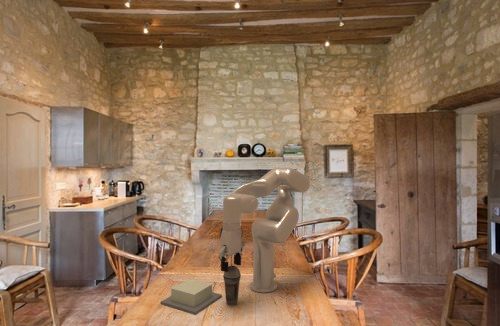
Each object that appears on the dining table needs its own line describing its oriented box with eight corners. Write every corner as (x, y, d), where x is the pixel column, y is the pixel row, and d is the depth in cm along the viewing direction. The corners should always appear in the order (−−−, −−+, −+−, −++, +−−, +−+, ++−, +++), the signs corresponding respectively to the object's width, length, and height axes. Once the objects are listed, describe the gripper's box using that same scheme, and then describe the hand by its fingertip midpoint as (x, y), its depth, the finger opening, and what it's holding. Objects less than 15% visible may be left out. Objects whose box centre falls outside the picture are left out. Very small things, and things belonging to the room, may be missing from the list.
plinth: (189, 288, 149) (189, 275, 149) (221, 296, 141) (221, 283, 140) (160, 304, 134) (160, 289, 133) (195, 314, 125) (195, 299, 125)
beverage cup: (226, 308, 130) (226, 259, 129) (220, 301, 136) (220, 253, 136) (243, 305, 133) (243, 256, 132) (236, 298, 139) (237, 251, 139)
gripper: (235, 221, 143) (234, 260, 143) (212, 228, 128) (211, 272, 128) (250, 223, 139) (249, 263, 139) (228, 231, 124) (227, 276, 124)
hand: (231, 267), depth 134 cm, fingers open, 9 cm apart
